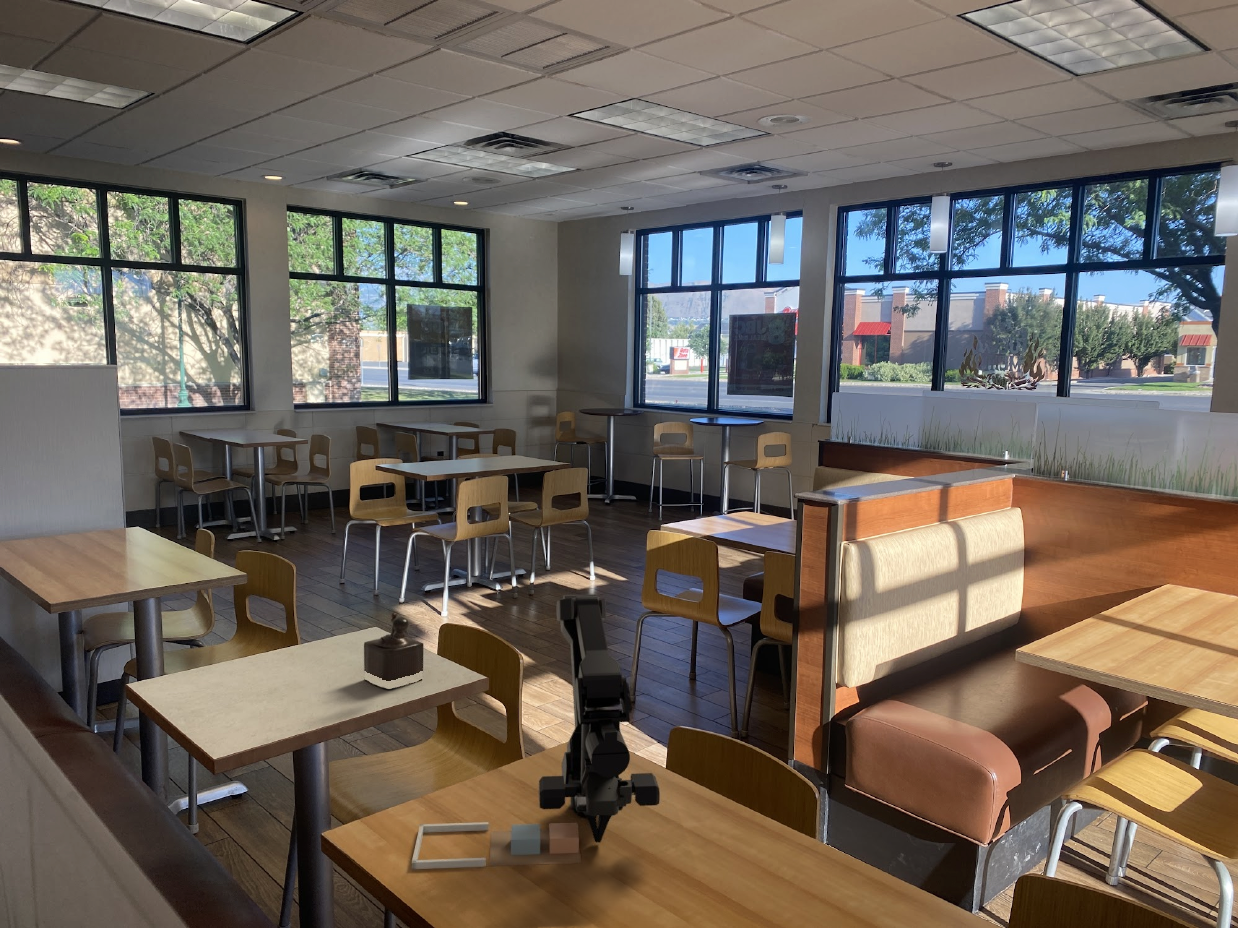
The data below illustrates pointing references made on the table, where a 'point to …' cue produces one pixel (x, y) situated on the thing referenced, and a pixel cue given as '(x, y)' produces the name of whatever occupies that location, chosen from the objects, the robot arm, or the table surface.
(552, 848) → the terracotta tile
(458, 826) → the tray
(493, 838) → the board
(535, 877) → the table surface
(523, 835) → the slate tile
